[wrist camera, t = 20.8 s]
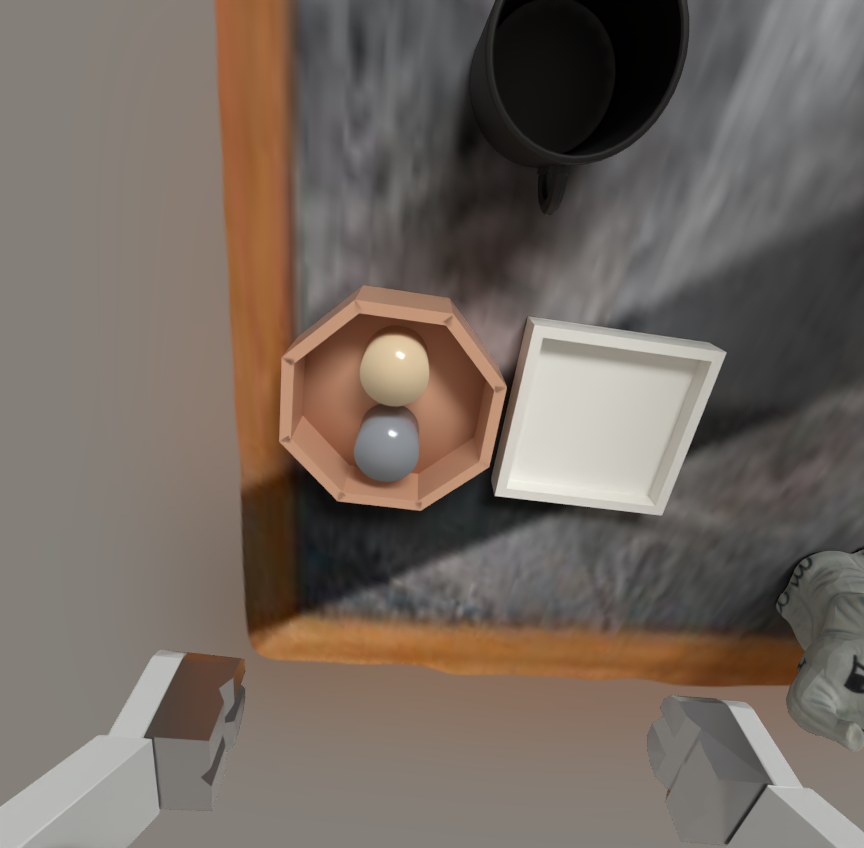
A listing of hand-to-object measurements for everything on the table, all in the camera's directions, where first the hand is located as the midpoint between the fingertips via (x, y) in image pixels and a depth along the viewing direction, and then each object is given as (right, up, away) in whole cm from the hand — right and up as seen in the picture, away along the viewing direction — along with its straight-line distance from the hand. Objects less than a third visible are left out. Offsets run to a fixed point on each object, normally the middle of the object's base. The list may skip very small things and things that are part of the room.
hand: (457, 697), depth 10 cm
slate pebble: (-4, +5, +31) cm, 31 cm away
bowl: (-3, +8, +30) cm, 32 cm away
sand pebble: (-3, +10, +28) cm, 30 cm away
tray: (+12, +6, +32) cm, 35 cm away
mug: (+6, +25, +23) cm, 35 cm away
